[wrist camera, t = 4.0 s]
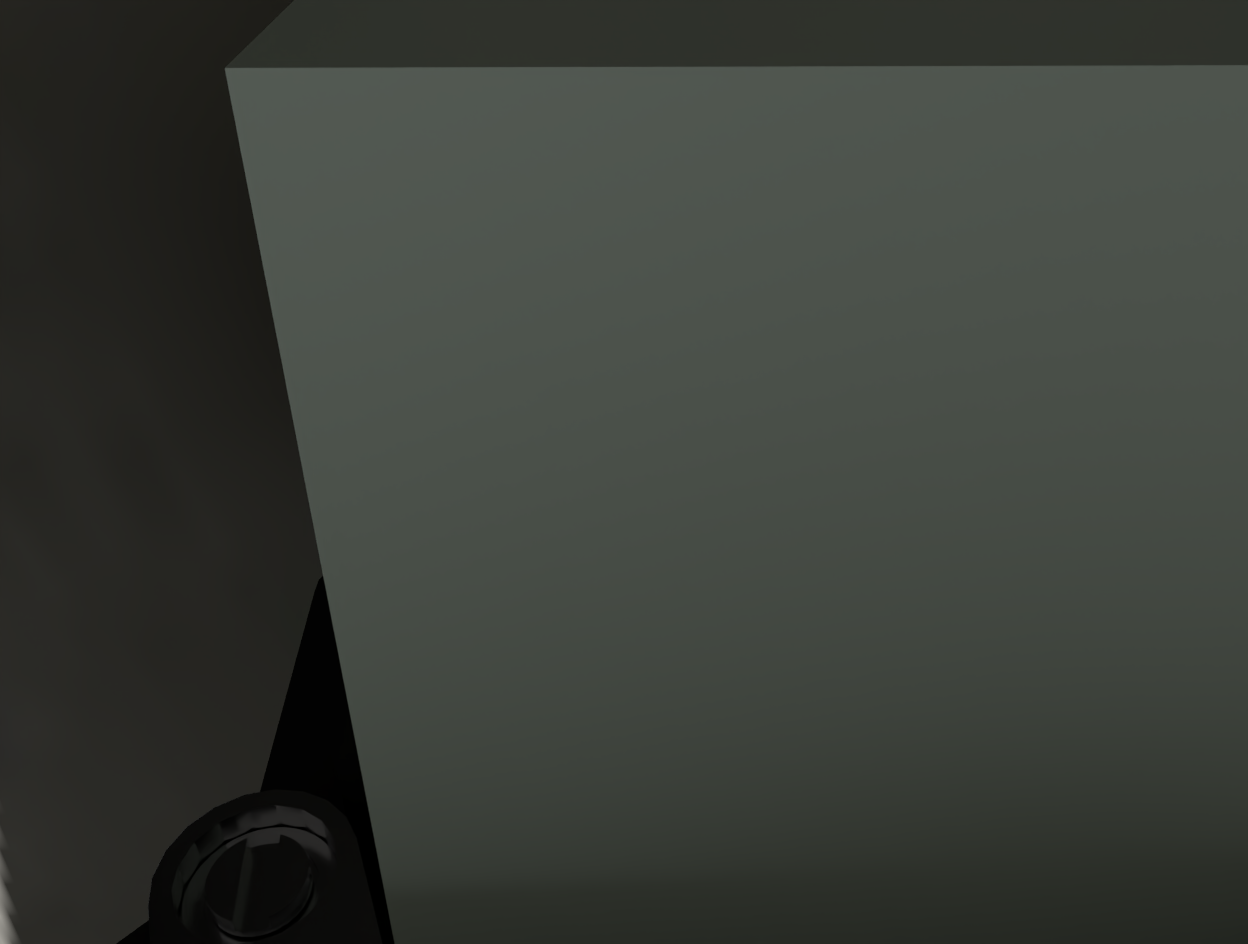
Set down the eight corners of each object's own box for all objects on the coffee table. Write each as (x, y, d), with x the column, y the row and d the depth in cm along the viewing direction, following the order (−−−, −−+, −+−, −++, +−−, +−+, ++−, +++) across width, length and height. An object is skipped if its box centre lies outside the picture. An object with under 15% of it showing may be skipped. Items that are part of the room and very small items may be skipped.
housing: (1105, -139, 9) (2187, 62, 3) (881, 813, 16) (1078, 1424, 10) (443, -143, 8) (226, 66, 3) (514, 830, 15) (497, 1471, 10)
